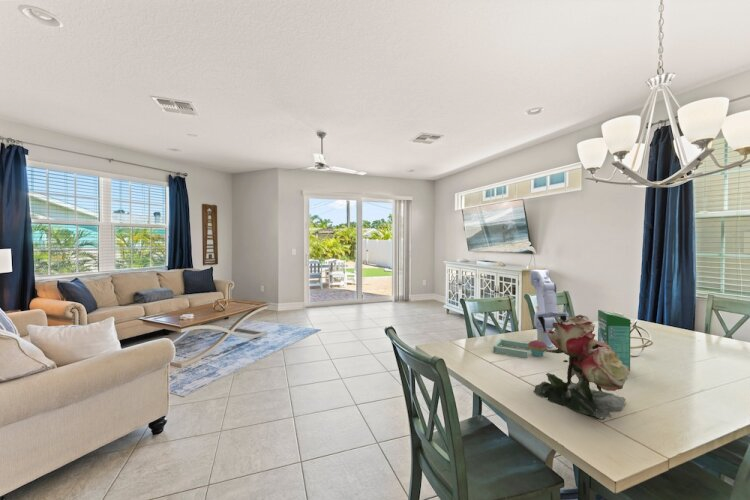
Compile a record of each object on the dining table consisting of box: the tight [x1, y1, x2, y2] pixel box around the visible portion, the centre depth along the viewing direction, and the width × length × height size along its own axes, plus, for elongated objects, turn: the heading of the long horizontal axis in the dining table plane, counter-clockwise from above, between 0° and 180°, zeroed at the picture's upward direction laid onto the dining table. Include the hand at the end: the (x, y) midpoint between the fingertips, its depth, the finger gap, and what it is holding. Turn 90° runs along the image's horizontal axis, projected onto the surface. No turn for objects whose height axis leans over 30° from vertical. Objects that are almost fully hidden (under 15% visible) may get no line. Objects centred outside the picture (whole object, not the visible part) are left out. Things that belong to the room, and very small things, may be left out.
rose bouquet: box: [533, 314, 631, 421], centre depth 120 cm, size 26×29×30 cm
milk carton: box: [597, 309, 631, 369], centre depth 149 cm, size 9×9×25 cm
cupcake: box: [527, 331, 548, 357], centre depth 165 cm, size 9×8×12 cm
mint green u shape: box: [493, 338, 531, 359], centre depth 172 cm, size 15×16×3 cm
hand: (553, 332), depth 159 cm, fingers open, 7 cm apart
